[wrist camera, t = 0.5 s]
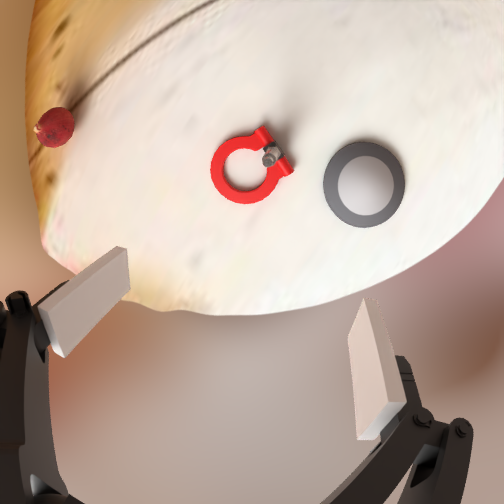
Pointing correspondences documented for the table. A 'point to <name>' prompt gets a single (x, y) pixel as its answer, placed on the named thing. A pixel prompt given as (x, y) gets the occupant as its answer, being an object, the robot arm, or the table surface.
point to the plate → (364, 184)
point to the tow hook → (271, 160)
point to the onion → (55, 127)
